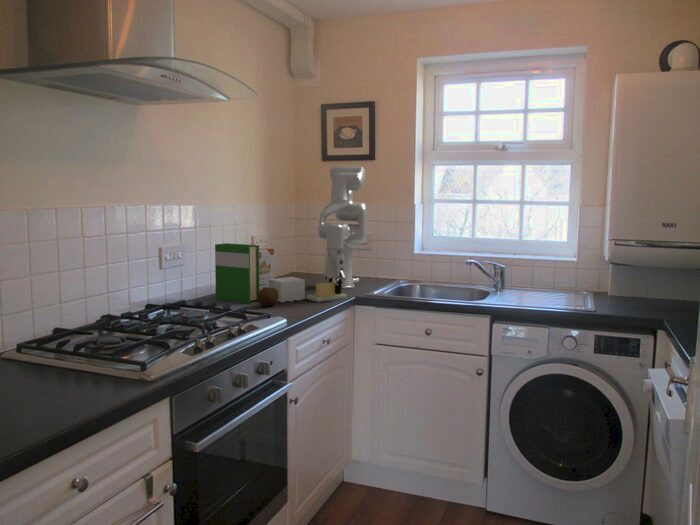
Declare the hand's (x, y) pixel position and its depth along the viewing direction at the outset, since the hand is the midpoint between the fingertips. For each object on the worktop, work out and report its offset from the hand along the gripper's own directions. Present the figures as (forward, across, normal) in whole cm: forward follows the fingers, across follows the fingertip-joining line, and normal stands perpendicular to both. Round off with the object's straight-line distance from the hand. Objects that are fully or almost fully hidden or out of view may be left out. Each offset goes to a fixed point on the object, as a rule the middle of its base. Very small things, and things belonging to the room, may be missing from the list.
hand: (334, 292), depth 254 cm
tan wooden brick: (+2, 0, +3) cm, 4 cm away
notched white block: (+3, +10, +19) cm, 21 cm away
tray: (+3, 0, +4) cm, 5 cm away
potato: (+3, 0, +34) cm, 34 cm away
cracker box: (+3, +27, +23) cm, 36 cm away
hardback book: (+3, +19, +38) cm, 43 cm away
